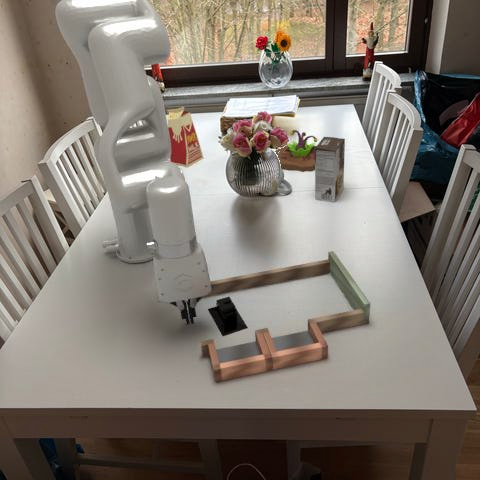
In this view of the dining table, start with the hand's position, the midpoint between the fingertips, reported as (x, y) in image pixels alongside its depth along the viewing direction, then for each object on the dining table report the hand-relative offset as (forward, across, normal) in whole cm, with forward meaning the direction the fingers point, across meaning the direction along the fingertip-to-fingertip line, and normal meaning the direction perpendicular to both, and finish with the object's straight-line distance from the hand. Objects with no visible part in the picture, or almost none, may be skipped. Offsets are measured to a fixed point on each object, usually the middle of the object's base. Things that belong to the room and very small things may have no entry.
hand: (189, 319), depth 100 cm
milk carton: (+2, +9, +89) cm, 90 cm away
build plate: (+2, +8, 0) cm, 8 cm away
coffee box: (+2, +47, +46) cm, 66 cm away
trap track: (+2, +18, -3) cm, 18 cm away
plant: (+2, +47, +75) cm, 88 cm away
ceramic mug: (+2, +32, +54) cm, 63 cm away
